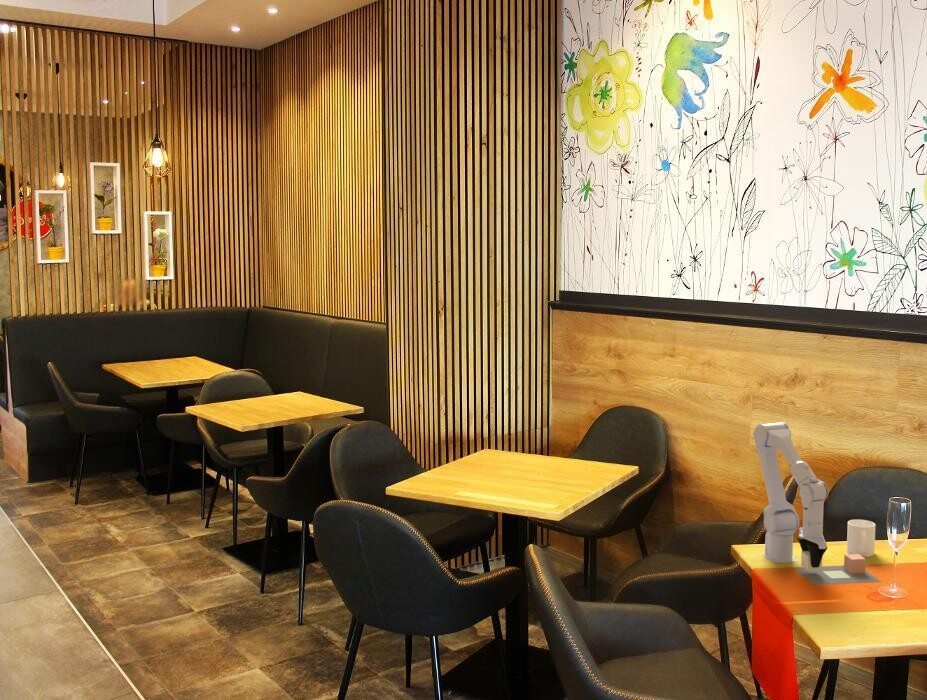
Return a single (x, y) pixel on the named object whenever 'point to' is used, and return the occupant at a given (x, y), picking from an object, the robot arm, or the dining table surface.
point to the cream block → (808, 561)
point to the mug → (861, 537)
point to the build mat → (835, 576)
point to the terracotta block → (854, 563)
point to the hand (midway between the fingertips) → (811, 564)
